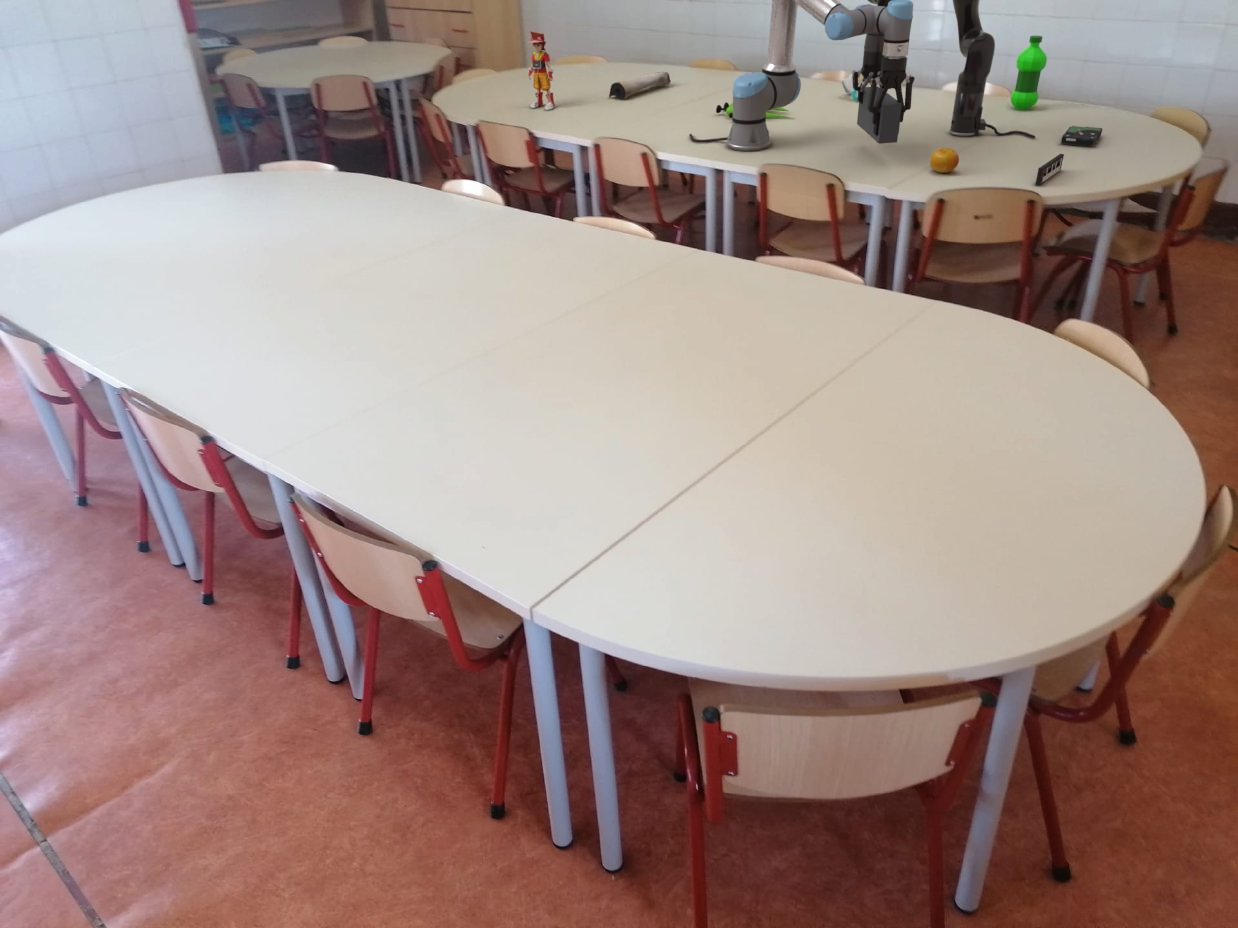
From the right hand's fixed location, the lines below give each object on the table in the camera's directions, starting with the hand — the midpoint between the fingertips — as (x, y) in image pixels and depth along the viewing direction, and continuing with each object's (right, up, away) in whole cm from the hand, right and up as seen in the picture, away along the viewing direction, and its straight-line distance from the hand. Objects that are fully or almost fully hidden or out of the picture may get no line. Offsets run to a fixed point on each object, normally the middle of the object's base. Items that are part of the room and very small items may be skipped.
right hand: (870, 102), depth 303 cm
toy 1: (-118, +30, +80) cm, 146 cm away
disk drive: (+72, -12, +2) cm, 73 cm away
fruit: (+18, -29, -18) cm, 39 cm away
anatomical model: (+12, +29, +67) cm, 73 cm away
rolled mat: (-75, +43, +94) cm, 128 cm away
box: (+1, -12, -4) cm, 12 cm away
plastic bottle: (+69, +14, +39) cm, 81 cm away
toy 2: (-31, +16, +51) cm, 62 cm away
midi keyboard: (+47, -35, -28) cm, 64 cm away
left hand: (+1, -15, -13) cm, 20 cm away
